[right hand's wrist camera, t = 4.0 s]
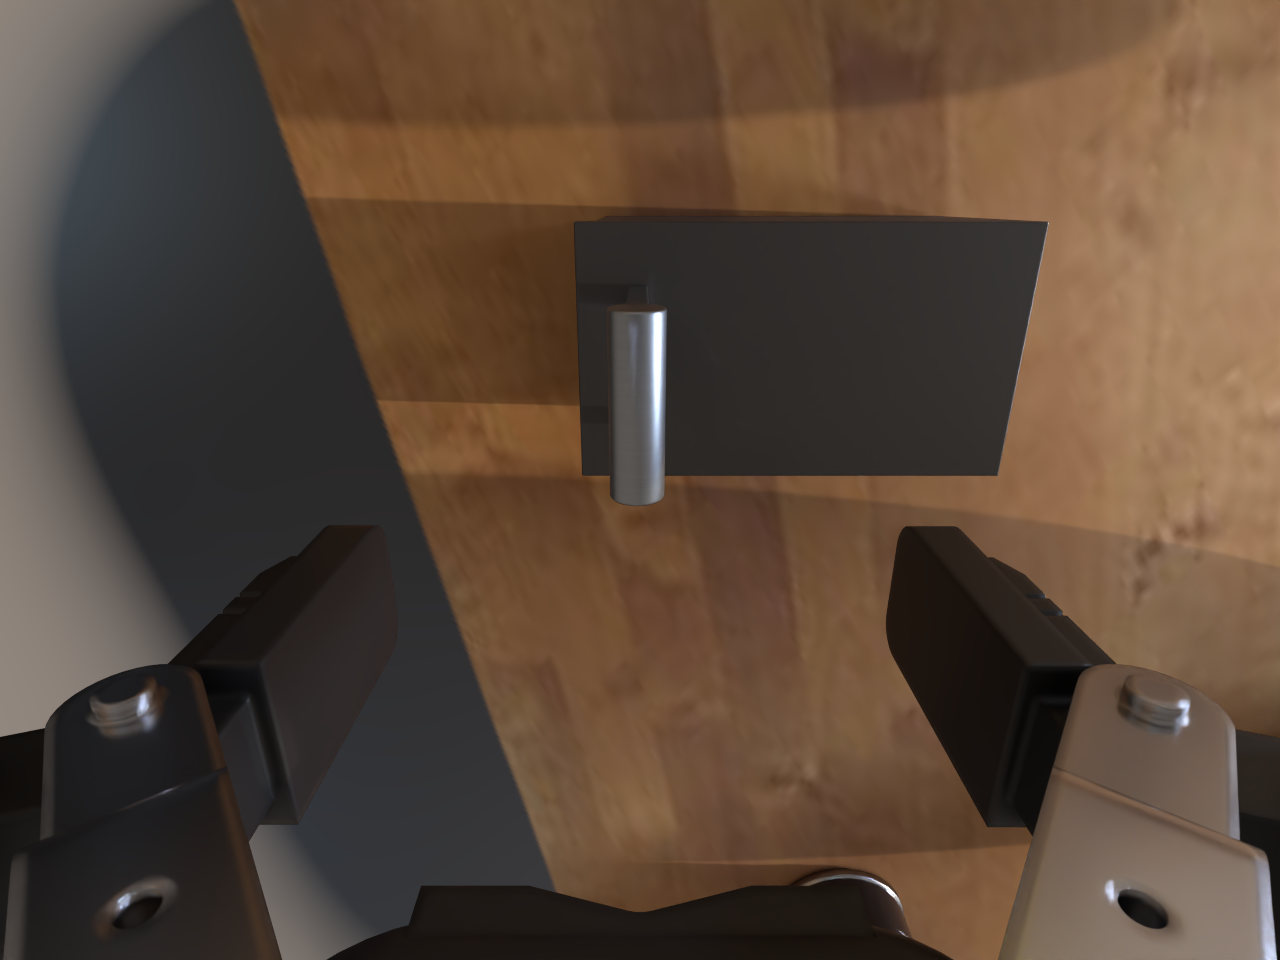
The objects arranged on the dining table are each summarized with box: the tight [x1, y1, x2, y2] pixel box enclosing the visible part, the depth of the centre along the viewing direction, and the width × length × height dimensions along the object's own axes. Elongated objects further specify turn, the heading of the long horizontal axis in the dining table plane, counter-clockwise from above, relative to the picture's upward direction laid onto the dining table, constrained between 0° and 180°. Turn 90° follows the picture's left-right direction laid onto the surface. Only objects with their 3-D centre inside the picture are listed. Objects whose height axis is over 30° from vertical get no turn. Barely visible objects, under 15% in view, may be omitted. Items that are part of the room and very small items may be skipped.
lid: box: [574, 221, 1049, 506], centre depth 23 cm, size 17×10×8 cm, turn 90°
